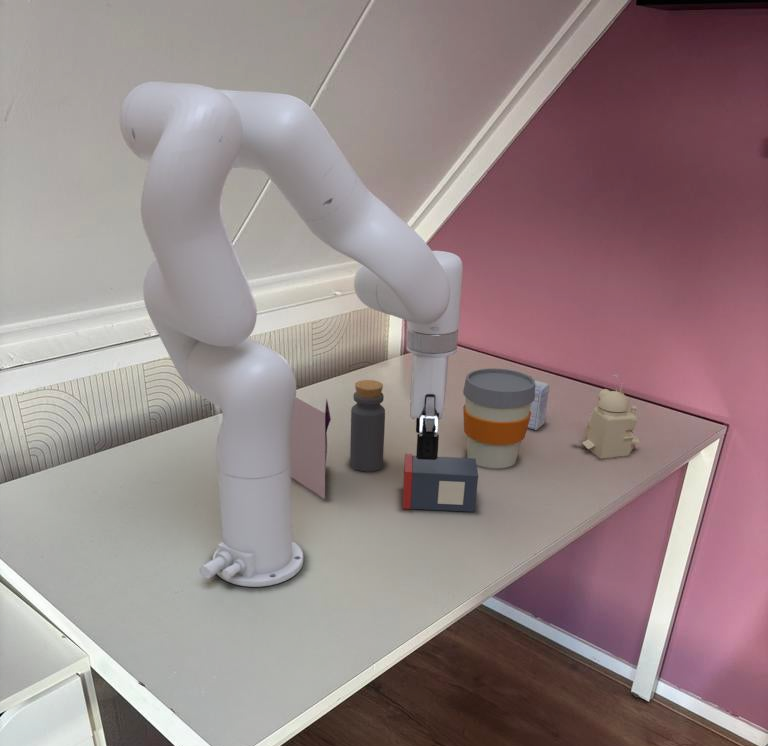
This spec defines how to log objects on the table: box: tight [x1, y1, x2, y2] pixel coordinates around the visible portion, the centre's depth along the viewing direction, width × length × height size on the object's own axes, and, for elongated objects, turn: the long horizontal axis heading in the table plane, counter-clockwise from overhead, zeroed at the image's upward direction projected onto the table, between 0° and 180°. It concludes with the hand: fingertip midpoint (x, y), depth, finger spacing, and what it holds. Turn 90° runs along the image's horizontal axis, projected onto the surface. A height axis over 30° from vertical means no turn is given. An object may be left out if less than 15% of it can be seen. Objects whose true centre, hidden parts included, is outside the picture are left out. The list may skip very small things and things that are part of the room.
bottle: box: [349, 379, 386, 472], centre depth 139 cm, size 6×6×15 cm
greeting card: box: [290, 397, 332, 500], centre depth 132 cm, size 11×7×15 cm, turn 3°
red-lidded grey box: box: [402, 453, 479, 513], centre depth 130 cm, size 12×7×7 cm, turn 88°
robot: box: [578, 373, 641, 459], centre depth 149 cm, size 10×8×15 cm
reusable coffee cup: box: [462, 368, 536, 469], centre depth 144 cm, size 13×13×15 cm
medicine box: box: [527, 379, 550, 431], centre depth 160 cm, size 8×4×9 cm, turn 58°
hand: (426, 445), depth 127 cm, fingers open, 9 cm apart
